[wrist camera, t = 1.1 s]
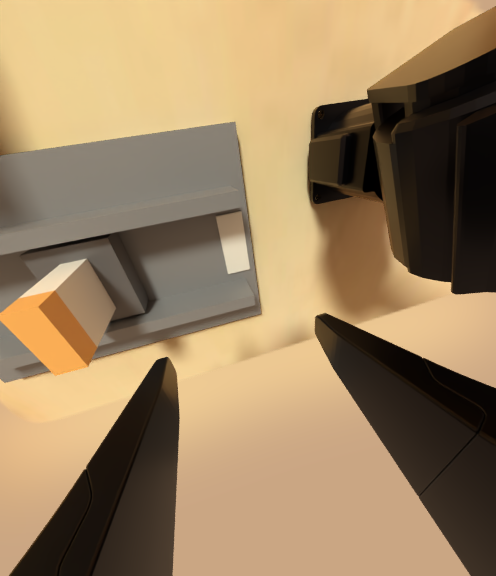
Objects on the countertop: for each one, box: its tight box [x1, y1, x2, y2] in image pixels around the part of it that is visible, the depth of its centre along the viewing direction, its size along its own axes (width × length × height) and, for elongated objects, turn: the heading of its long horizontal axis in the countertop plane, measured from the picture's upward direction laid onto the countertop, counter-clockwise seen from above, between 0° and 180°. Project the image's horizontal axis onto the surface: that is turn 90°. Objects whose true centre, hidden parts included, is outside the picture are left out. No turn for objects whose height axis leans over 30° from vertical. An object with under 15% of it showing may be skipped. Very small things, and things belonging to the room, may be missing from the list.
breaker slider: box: [0, 232, 149, 376], centre depth 13 cm, size 5×6×7 cm
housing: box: [0, 122, 261, 383], centre depth 16 cm, size 24×16×4 cm, turn 98°
